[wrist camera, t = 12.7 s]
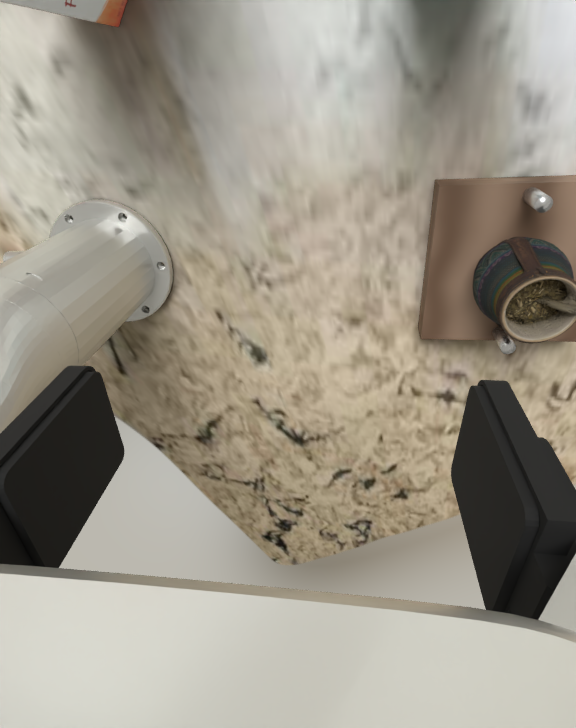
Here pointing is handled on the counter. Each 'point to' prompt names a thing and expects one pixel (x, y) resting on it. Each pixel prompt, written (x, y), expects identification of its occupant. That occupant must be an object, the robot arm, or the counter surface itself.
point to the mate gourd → (526, 289)
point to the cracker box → (79, 9)
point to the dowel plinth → (487, 246)
